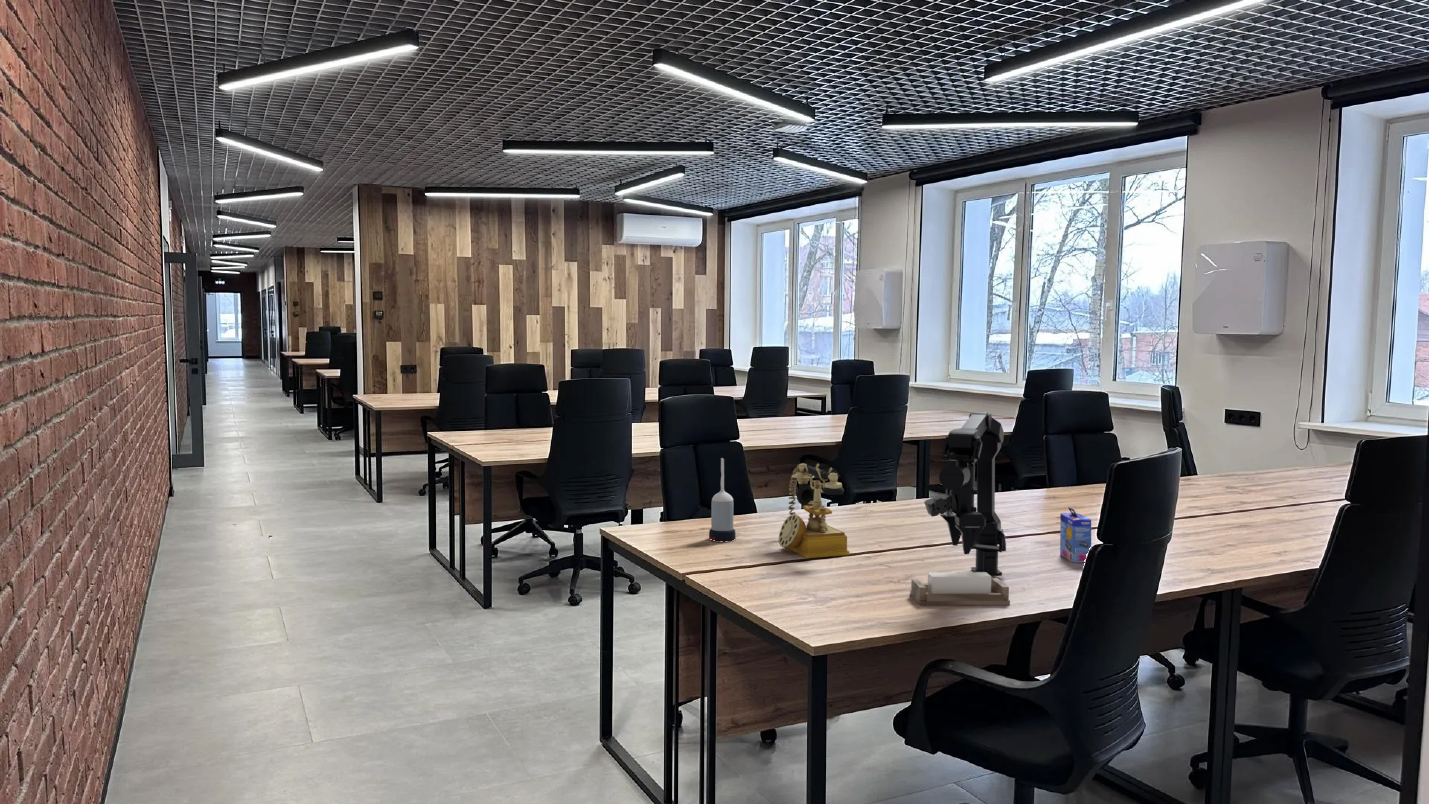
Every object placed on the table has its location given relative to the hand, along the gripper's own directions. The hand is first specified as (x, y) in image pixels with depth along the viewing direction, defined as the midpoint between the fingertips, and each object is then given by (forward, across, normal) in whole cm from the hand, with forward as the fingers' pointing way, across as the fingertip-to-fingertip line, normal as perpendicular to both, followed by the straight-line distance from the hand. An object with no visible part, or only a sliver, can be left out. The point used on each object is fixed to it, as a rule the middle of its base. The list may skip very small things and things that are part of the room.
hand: (960, 549), depth 229 cm
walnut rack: (+12, 0, 0) cm, 12 cm away
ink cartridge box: (+12, -41, +45) cm, 62 cm away
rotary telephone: (+12, -56, -30) cm, 65 cm away
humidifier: (+12, -69, -53) cm, 88 cm away
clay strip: (+11, 0, 0) cm, 11 cm away
